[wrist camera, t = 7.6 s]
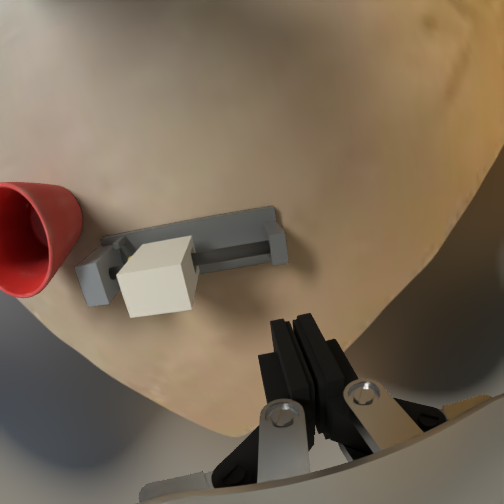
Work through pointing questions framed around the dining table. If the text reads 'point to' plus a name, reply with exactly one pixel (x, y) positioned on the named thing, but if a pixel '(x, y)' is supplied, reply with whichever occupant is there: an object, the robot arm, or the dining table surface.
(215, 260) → the grey slider rail
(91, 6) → the dining table surface
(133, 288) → the white sliding block
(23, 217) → the flower pot
